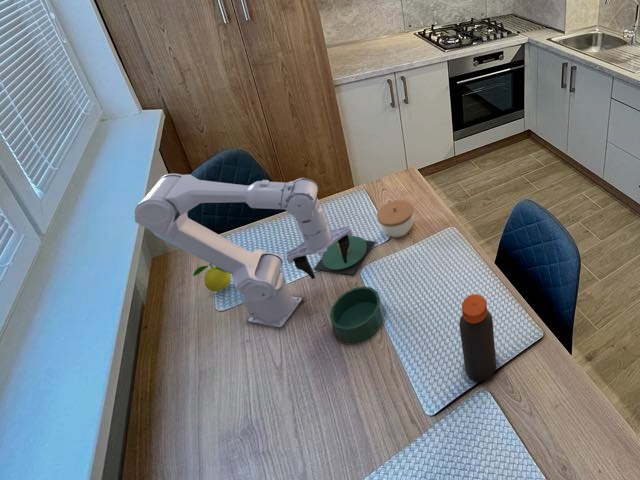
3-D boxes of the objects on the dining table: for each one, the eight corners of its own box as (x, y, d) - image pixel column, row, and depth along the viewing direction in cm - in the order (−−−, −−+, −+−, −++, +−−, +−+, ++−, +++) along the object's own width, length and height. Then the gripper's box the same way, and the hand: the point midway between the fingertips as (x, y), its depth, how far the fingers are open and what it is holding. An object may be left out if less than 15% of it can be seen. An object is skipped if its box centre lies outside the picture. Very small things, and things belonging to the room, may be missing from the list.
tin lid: (313, 268, 113) (309, 256, 111) (338, 236, 123) (335, 224, 121) (353, 274, 110) (349, 262, 108) (375, 241, 121) (372, 229, 119)
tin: (325, 339, 95) (320, 324, 92) (351, 298, 104) (347, 283, 102) (369, 348, 92) (364, 332, 90) (391, 304, 102) (387, 290, 100)
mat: (314, 269, 113) (313, 268, 113) (339, 238, 124) (338, 236, 123) (353, 275, 111) (352, 274, 110) (374, 243, 121) (374, 241, 121)
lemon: (202, 294, 107) (188, 267, 103) (224, 276, 112) (211, 250, 107) (219, 302, 105) (205, 275, 100) (240, 284, 109) (228, 257, 105)
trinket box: (380, 246, 120) (374, 222, 116) (382, 221, 129) (376, 198, 125) (417, 239, 122) (412, 215, 118) (416, 215, 131) (412, 192, 127)
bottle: (500, 356, 90) (496, 294, 81) (489, 387, 84) (483, 325, 75) (472, 347, 92) (465, 286, 83) (459, 377, 86) (450, 314, 77)
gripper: (281, 252, 88) (300, 294, 94) (349, 223, 95) (362, 264, 101) (278, 233, 93) (296, 274, 99) (342, 206, 100) (355, 246, 106)
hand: (329, 268), depth 100 cm, fingers open, 7 cm apart
